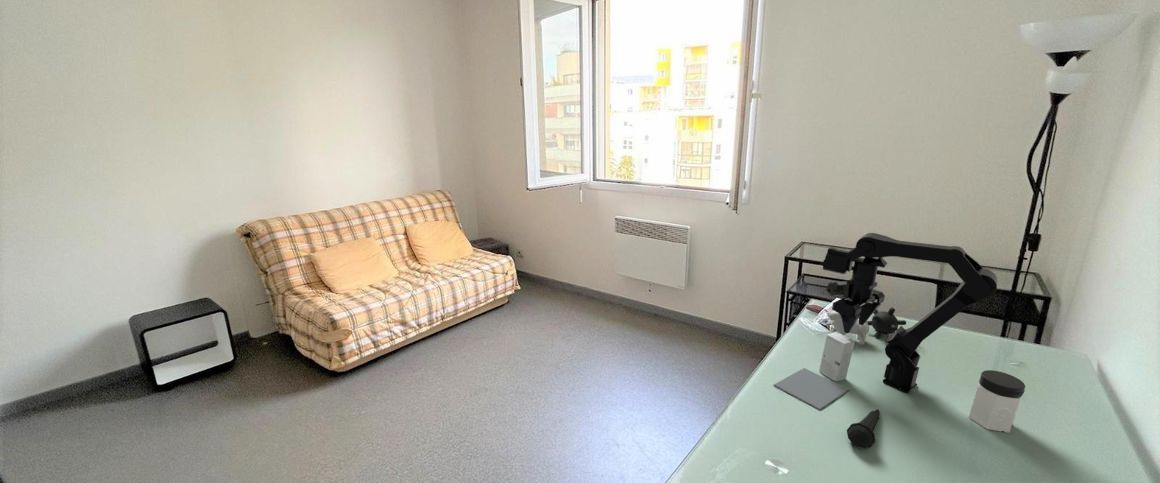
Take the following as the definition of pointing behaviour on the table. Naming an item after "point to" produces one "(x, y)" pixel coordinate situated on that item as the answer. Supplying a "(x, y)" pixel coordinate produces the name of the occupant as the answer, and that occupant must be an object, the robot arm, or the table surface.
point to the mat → (811, 388)
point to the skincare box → (836, 356)
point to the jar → (996, 400)
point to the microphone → (864, 431)
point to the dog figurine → (856, 329)
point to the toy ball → (885, 322)
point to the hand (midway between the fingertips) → (853, 328)
